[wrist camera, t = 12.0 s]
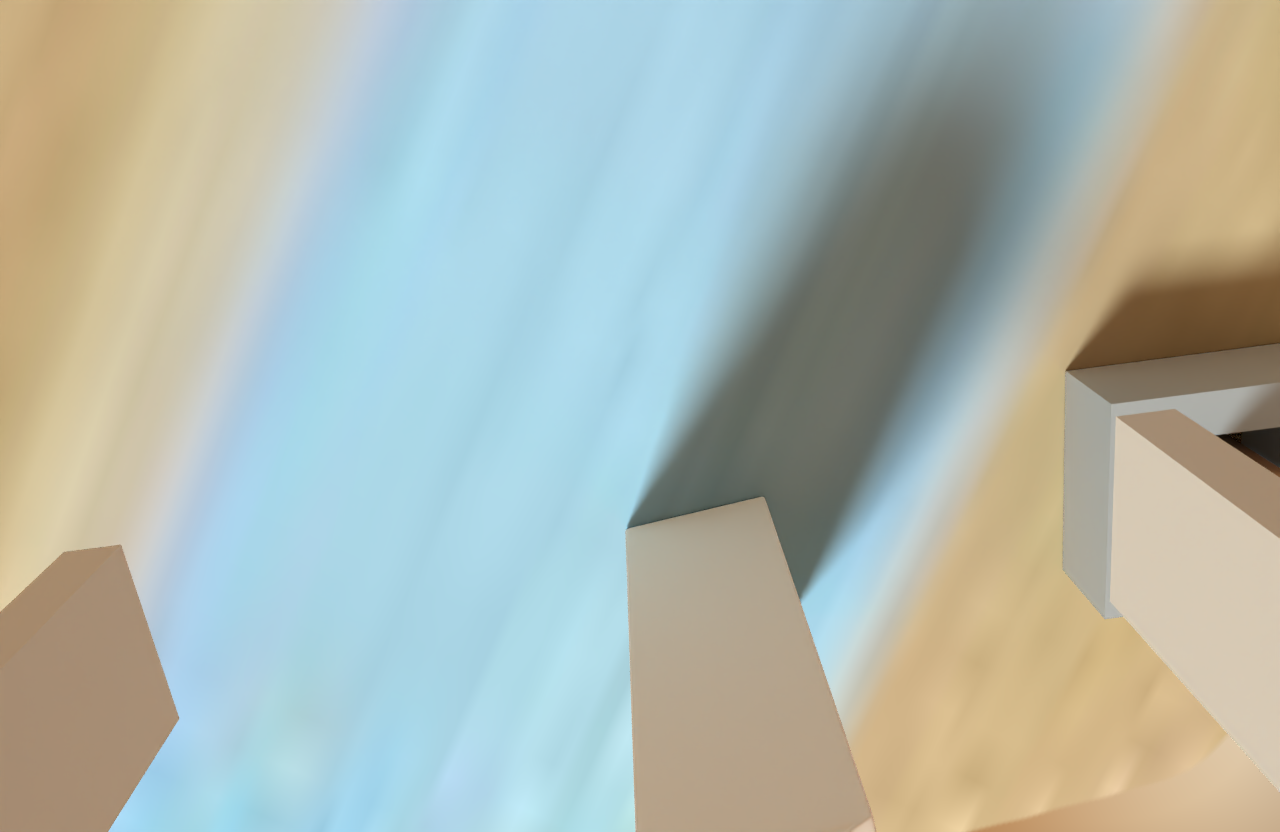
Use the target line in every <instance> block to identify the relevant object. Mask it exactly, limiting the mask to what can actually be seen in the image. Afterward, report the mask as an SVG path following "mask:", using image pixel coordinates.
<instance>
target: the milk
mask: <svg viewBox="0 0 1280 832" xmlns="http://www.w3.org/2000/svg"><path fill="white" fill-rule="evenodd" d="M625 534H626V563H627V593H628V622H629V652H630V681H631V710H632V740H633V769H634V798H635V828H636V832H876V828H875V823H874V819H873V815H872V812H871V809H870V806H869V803H868V800H867V797H866V794H865V791H864V788H863V785H862V782H861V779H860V776H859V773H858V770H857V767H856V764H855V761H854V759H853V756H852V753H851V750H850V747H849V744H848V741H847V738H846V735H845V732H844V729H843V726H842V723H841V720H840V717H839V714H838V711H837V709H836V706H835V703H834V700H833V697H832V694H831V691H830V688H829V685H828V682H827V679H826V676H825V673H824V670H823V667H822V664H821V661H820V659H819V656H818V653H817V650H816V647H815V644H814V641H813V638H812V635H811V632H810V629H809V626H808V623H807V620H806V617H805V614H804V611H803V608H802V606H801V603H800V600H799V597H798V594H797V591H796V588H795V585H794V582H793V579H792V576H791V573H790V570H789V567H788V564H787V561H786V558H785V556H784V553H783V550H782V547H781V544H780V541H779V538H778V535H777V532H776V529H775V526H774V523H773V520H772V517H771V514H770V511H769V508H768V506H767V503H766V500H765V498H764V497H758V498H753V499H749V500H745V501H741V502H737V503H733V504H728V505H724V506H720V507H716V508H712V509H707V510H703V511H699V512H695V513H691V514H686V515H682V516H678V517H674V518H670V519H665V520H661V521H657V522H653V523H649V524H644V525H640V526H636V527H632V528H628V529H626V532H625Z"/></svg>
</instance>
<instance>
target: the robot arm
mask: <svg viewBox="0 0 1280 832" xmlns="http://www.w3.org/2000/svg"><path fill="white" fill-rule="evenodd" d="M1110 602H1111V603H1112V604H1113V605H1114V607H1115V608H1116V609H1117V610H1118V611H1119V612H1120V613H1121V614H1122V616H1123V617H1124V618H1125V619H1126V620H1127V621H1128V622H1129V623H1130V625H1131V626H1132V627H1133V628H1134V629H1135V630H1136V631H1137V632H1138V634H1139V635H1140V636H1141V637H1142V638H1143V639H1144V640H1145V641H1146V643H1147V644H1148V645H1149V646H1150V647H1151V648H1152V649H1153V650H1154V652H1155V653H1156V654H1157V655H1158V656H1159V657H1160V658H1161V659H1162V661H1163V662H1164V663H1165V664H1166V665H1167V666H1168V667H1169V668H1170V670H1171V671H1172V672H1173V673H1174V674H1175V675H1176V676H1177V677H1178V679H1179V680H1180V681H1181V682H1182V683H1183V684H1184V685H1185V686H1186V688H1187V689H1188V690H1189V691H1190V692H1191V693H1192V694H1193V695H1194V697H1195V698H1196V699H1197V700H1198V701H1199V702H1200V703H1201V704H1202V706H1203V707H1204V708H1205V709H1206V710H1207V711H1208V712H1209V713H1210V715H1211V716H1212V717H1213V718H1214V719H1215V720H1216V721H1217V722H1218V724H1219V725H1220V726H1221V727H1222V728H1223V729H1224V730H1225V731H1226V732H1227V734H1228V735H1229V736H1230V737H1231V738H1232V739H1233V740H1234V741H1235V743H1237V745H1238V746H1239V747H1240V748H1241V749H1242V750H1243V752H1244V753H1245V754H1246V755H1247V756H1248V757H1249V758H1250V759H1251V761H1252V762H1253V763H1254V764H1255V765H1256V766H1257V767H1258V768H1259V770H1260V771H1261V772H1262V773H1263V774H1264V775H1265V776H1266V777H1267V779H1268V780H1269V781H1270V782H1271V783H1272V784H1273V785H1274V786H1275V788H1276V789H1277V790H1278V791H1279V792H1280V477H1278V476H1277V475H1275V474H1274V473H1272V472H1271V471H1269V470H1267V469H1266V468H1264V467H1263V466H1261V465H1260V464H1258V463H1257V462H1255V461H1254V460H1252V459H1251V458H1249V457H1248V456H1246V455H1245V454H1243V453H1242V452H1240V451H1238V450H1237V449H1235V448H1234V447H1232V446H1231V445H1229V444H1228V443H1226V442H1225V441H1223V440H1222V439H1220V438H1219V437H1217V436H1216V435H1214V434H1213V433H1211V432H1209V431H1208V430H1206V429H1205V428H1203V427H1202V426H1200V425H1199V424H1197V423H1196V422H1194V421H1193V420H1191V419H1190V418H1188V417H1187V416H1185V415H1183V414H1182V413H1180V412H1179V411H1177V410H1176V409H1170V410H1162V411H1155V412H1147V413H1139V414H1131V415H1124V416H1116V427H1115V458H1114V489H1113V519H1112V550H1111V581H1110ZM178 720H179V716H178V713H177V710H176V707H175V704H174V701H173V698H172V695H171V692H170V689H169V686H168V683H167V680H166V677H165V674H164V671H163V669H162V666H161V663H160V660H159V657H158V654H157V651H156V648H155V645H154V642H153V639H152V636H151V633H150V630H149V627H148V624H147V621H146V618H145V615H144V612H143V609H142V606H141V603H140V600H139V597H138V594H137V591H136V588H135V585H134V582H133V579H132V576H131V573H130V570H129V567H128V564H127V561H126V558H125V555H124V552H123V549H122V546H121V545H115V546H107V547H100V548H92V549H84V550H76V551H69V552H64V553H62V554H61V555H60V556H59V557H58V558H57V559H56V560H55V561H54V562H53V563H52V564H51V565H50V566H49V567H48V568H47V569H46V570H44V571H43V572H42V573H41V574H40V575H39V576H38V577H37V578H36V579H35V580H34V581H33V582H32V583H31V584H30V585H29V586H27V587H26V588H25V589H24V590H23V591H22V592H21V593H20V594H19V595H18V596H17V597H16V598H15V599H14V600H13V601H12V602H11V603H9V604H8V605H7V606H6V607H5V608H4V609H3V610H2V611H1V612H0V832H108V831H109V829H110V828H111V826H112V824H113V823H114V821H115V820H116V818H117V816H118V815H119V813H120V812H121V810H122V809H123V807H124V805H125V804H126V802H127V801H128V799H129V797H130V796H131V794H132V793H133V791H134V790H135V788H136V786H137V785H138V783H139V782H140V780H141V778H142V777H143V775H144V774H145V772H146V771H147V769H148V767H149V766H150V764H151V763H152V761H153V759H154V758H155V756H156V755H157V753H158V751H159V750H160V748H161V747H162V745H163V744H164V742H165V740H166V739H167V737H168V736H169V734H170V732H171V731H172V729H173V728H174V726H175V725H176V723H177V721H178Z"/></svg>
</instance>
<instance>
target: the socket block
mask: <svg viewBox="0 0 1280 832" xmlns="http://www.w3.org/2000/svg"><path fill="white" fill-rule="evenodd" d="M1170 409H1176V410H1177V411H1179V412H1180V413H1182V414H1183V415H1185V416H1187V417H1188V418H1190V419H1191V420H1193V421H1194V422H1196V423H1197V424H1199V425H1200V426H1202V427H1203V428H1205V429H1206V430H1208V431H1209V432H1211V433H1213V434H1214V435H1221V434H1229V433H1237V432H1242V433H1241V444H1243V445H1245V446H1246V447H1248V448H1249V449H1251V450H1252V451H1254V452H1255V453H1257V454H1259V455H1260V456H1262V457H1263V458H1265V459H1266V460H1268V461H1270V462H1271V463H1273V464H1274V465H1276V466H1277V467H1279V468H1280V343H1278V344H1270V345H1262V346H1255V347H1247V348H1239V349H1232V350H1224V351H1216V352H1208V353H1201V354H1193V355H1185V356H1178V357H1170V358H1162V359H1154V360H1147V361H1139V362H1131V363H1124V364H1116V365H1108V366H1100V367H1093V368H1085V369H1077V370H1070V371H1066V387H1065V456H1064V525H1063V571H1064V572H1065V573H1066V574H1067V575H1068V577H1069V578H1070V579H1071V580H1072V581H1073V582H1074V584H1075V585H1076V586H1077V587H1078V588H1079V589H1080V591H1081V592H1082V593H1083V594H1084V595H1085V597H1086V598H1087V599H1088V600H1089V601H1090V602H1091V604H1092V605H1093V606H1094V607H1095V608H1096V609H1097V611H1098V612H1099V613H1100V614H1101V615H1102V616H1103V618H1104V619H1110V618H1118V617H1123V616H1122V614H1121V613H1120V612H1119V611H1118V610H1117V609H1116V608H1115V607H1114V605H1113V604H1112V603H1111V602H1110V581H1111V550H1112V519H1113V489H1114V458H1115V427H1116V416H1124V415H1131V414H1139V413H1147V412H1155V411H1162V410H1170Z"/></svg>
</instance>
